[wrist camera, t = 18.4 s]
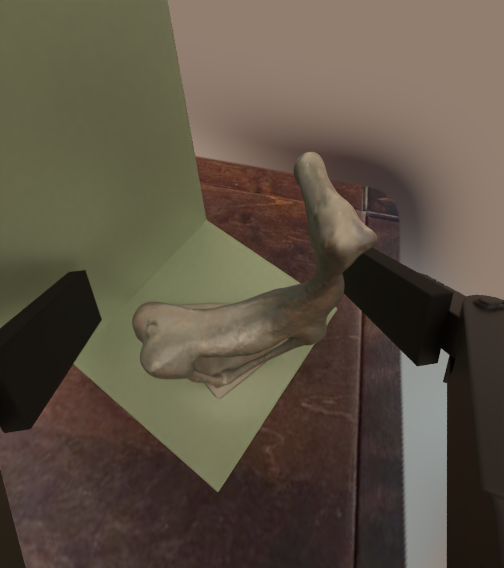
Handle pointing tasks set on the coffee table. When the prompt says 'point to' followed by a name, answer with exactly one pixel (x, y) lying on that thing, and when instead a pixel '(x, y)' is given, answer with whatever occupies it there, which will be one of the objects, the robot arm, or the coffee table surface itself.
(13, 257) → the rack
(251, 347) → the figurine
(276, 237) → the coffee table surface
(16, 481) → the coffee table surface
